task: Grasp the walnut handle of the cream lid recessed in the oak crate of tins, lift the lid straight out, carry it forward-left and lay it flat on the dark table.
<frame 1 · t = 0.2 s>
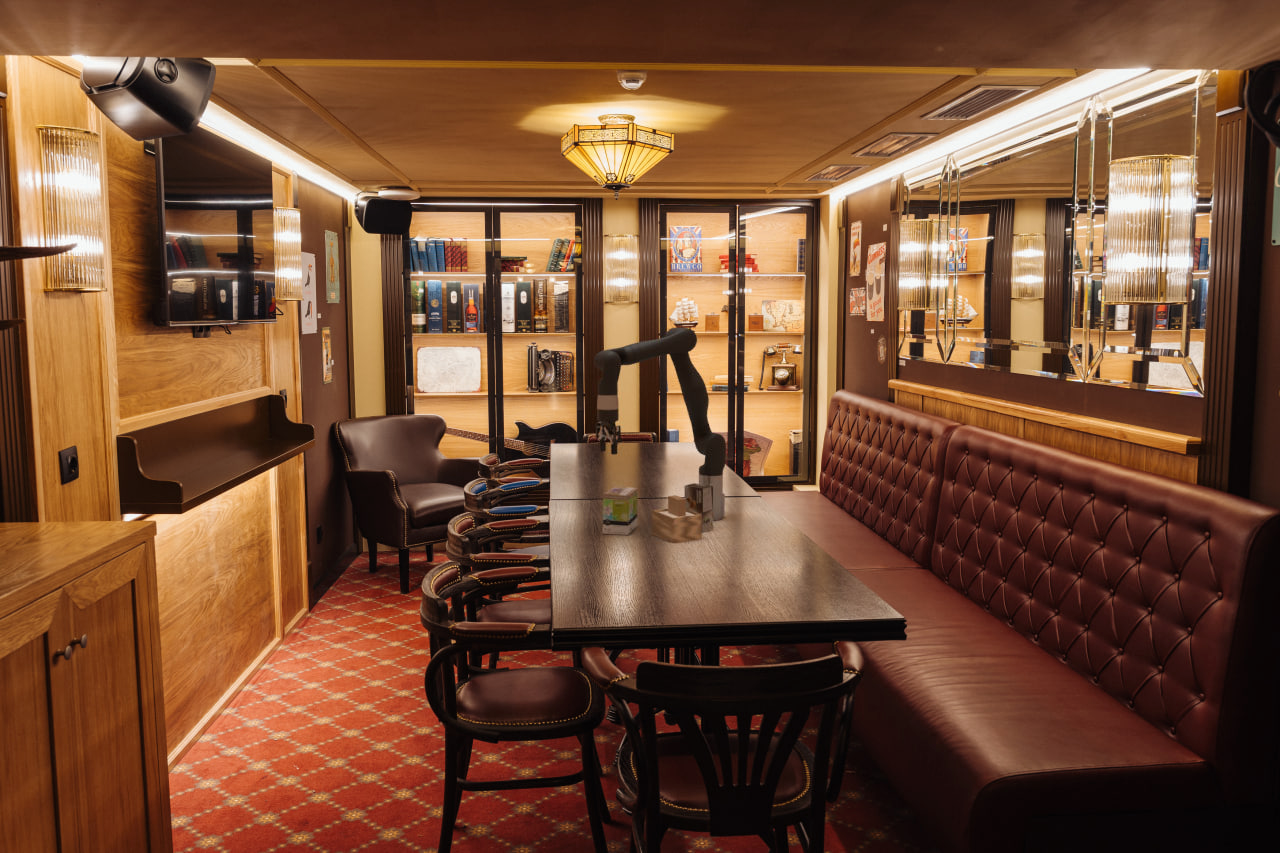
hand: (608, 452, 315), 29 cm above the table, fingers open, 8 cm apart
tea box: (620, 530, 322), on the table
coffee box: (698, 529, 324), on the table
lid: (676, 517, 311), point 7 cm above the table, touching crate
crate: (676, 536, 312), on the table
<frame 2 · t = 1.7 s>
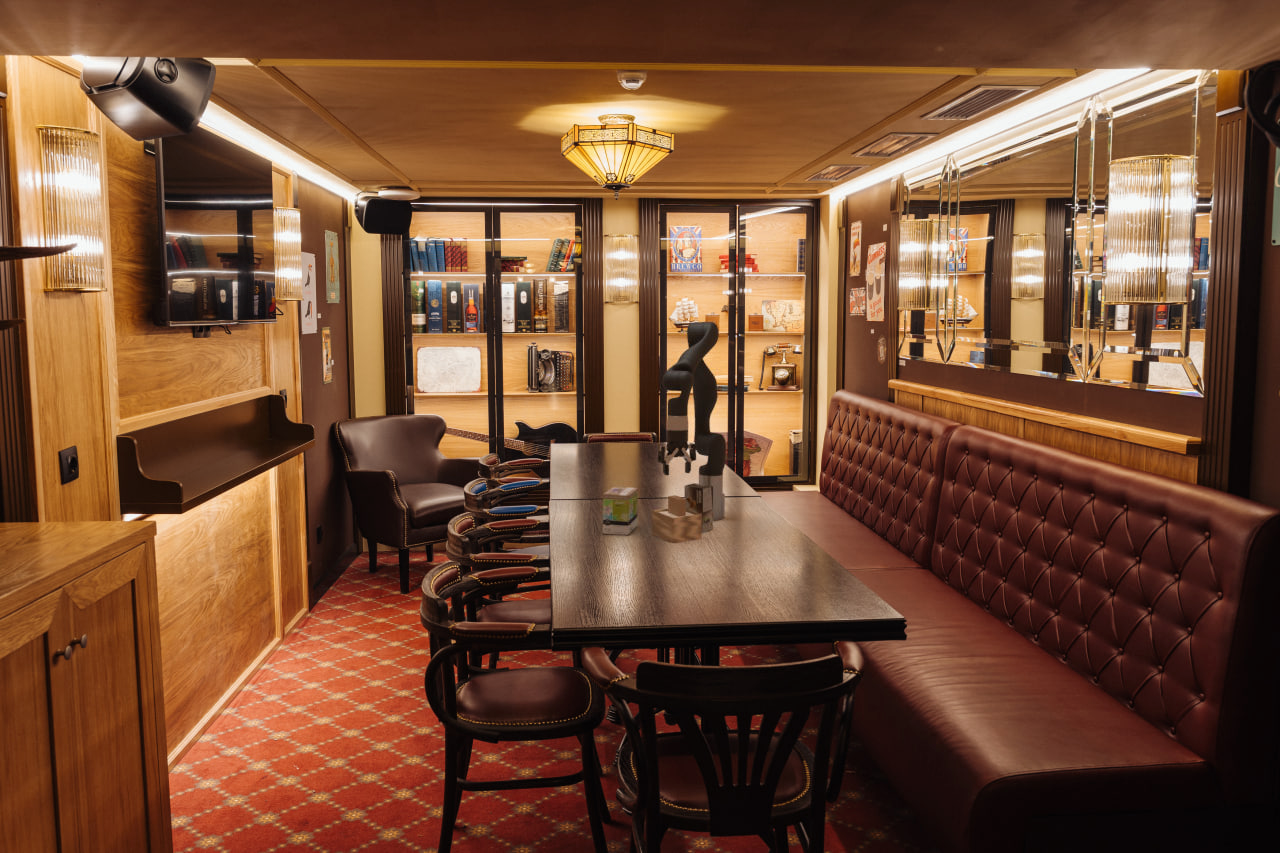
hand: (676, 474, 309), 22 cm above the table, fingers open, 8 cm apart
nothing on the table moved.
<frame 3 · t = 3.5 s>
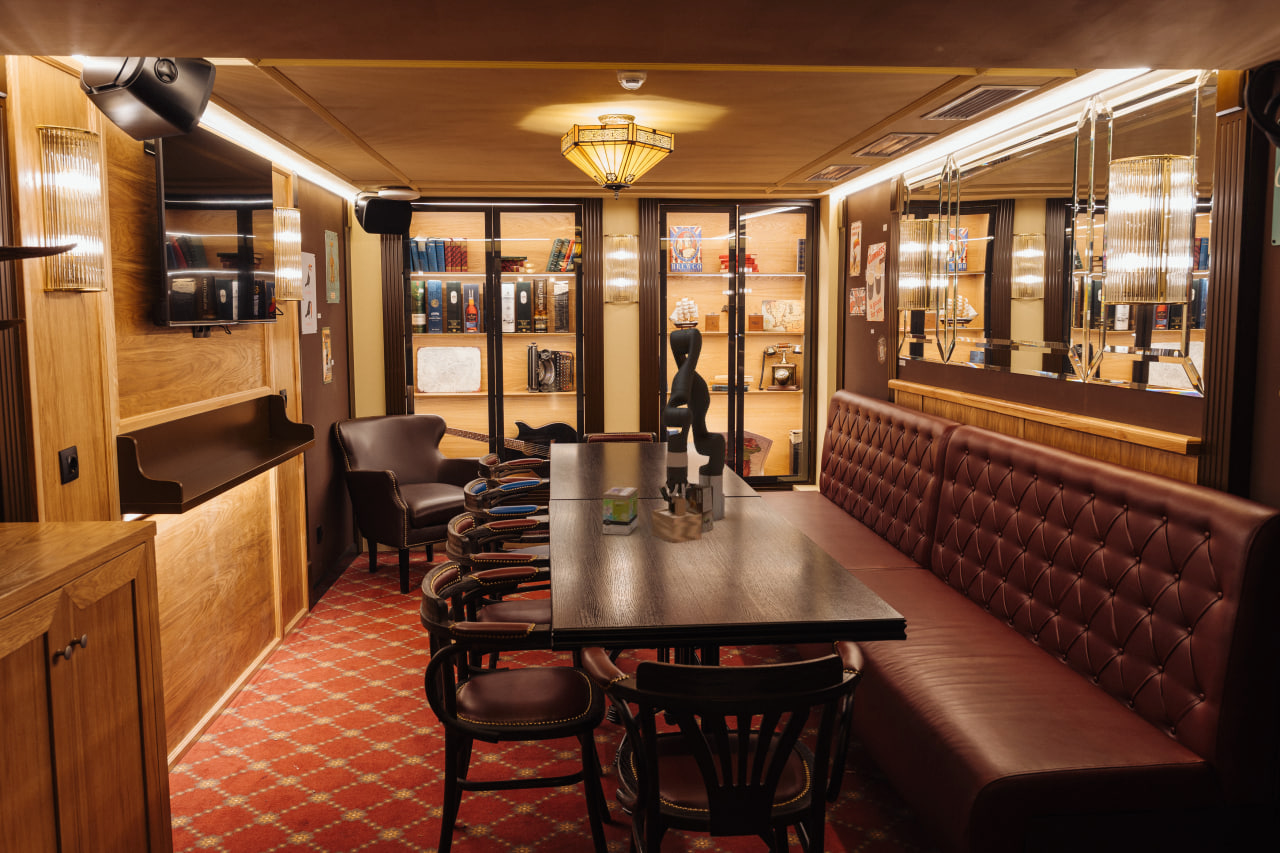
hand: (676, 512, 311), 9 cm above the table, fingers closed on lid, 3 cm apart
lid: (676, 516, 311), point 7 cm above the table, touching crate, gripper
everything else where it was.
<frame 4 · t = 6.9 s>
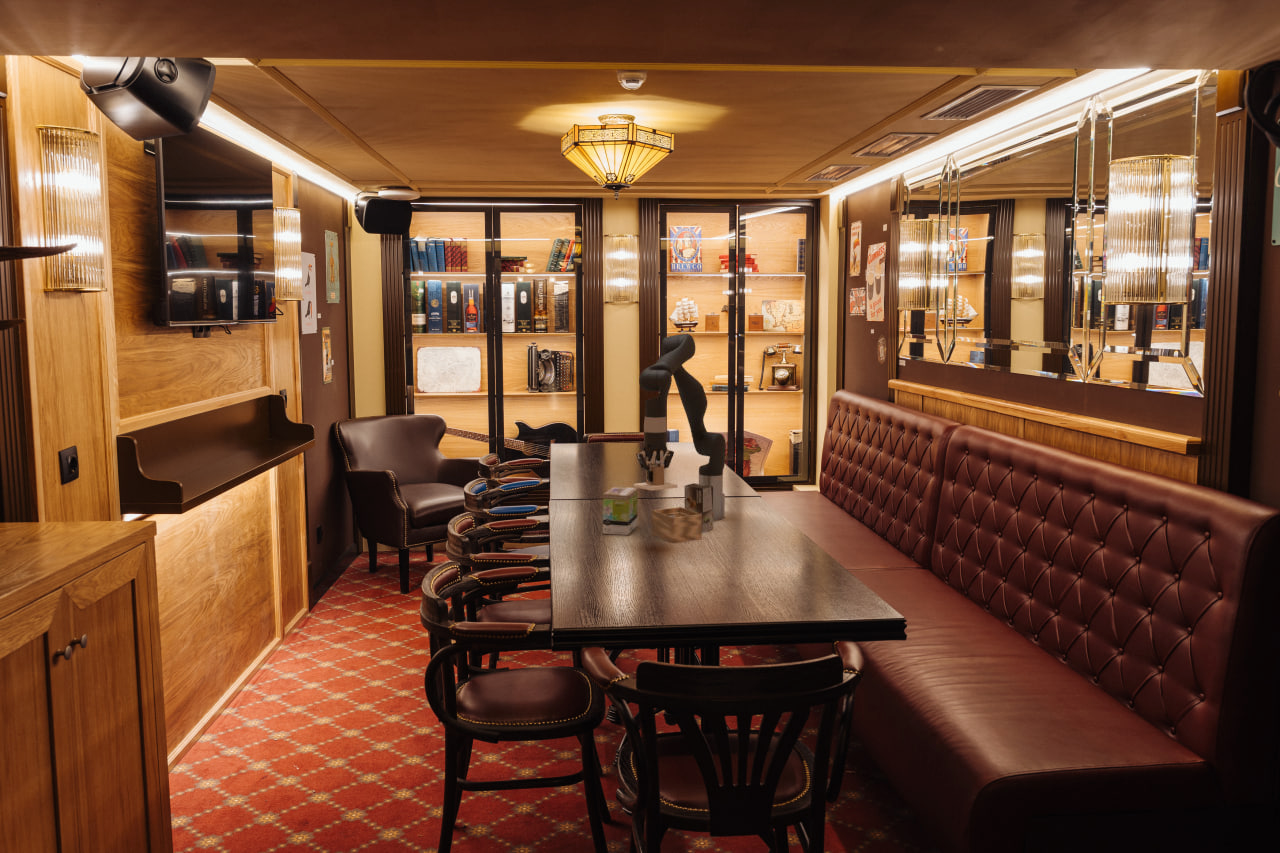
hand: (655, 481, 295), 23 cm above the table, fingers closed on lid, 3 cm apart
lid: (655, 487, 295), point 21 cm above the table, touching gripper
everything else where it was.
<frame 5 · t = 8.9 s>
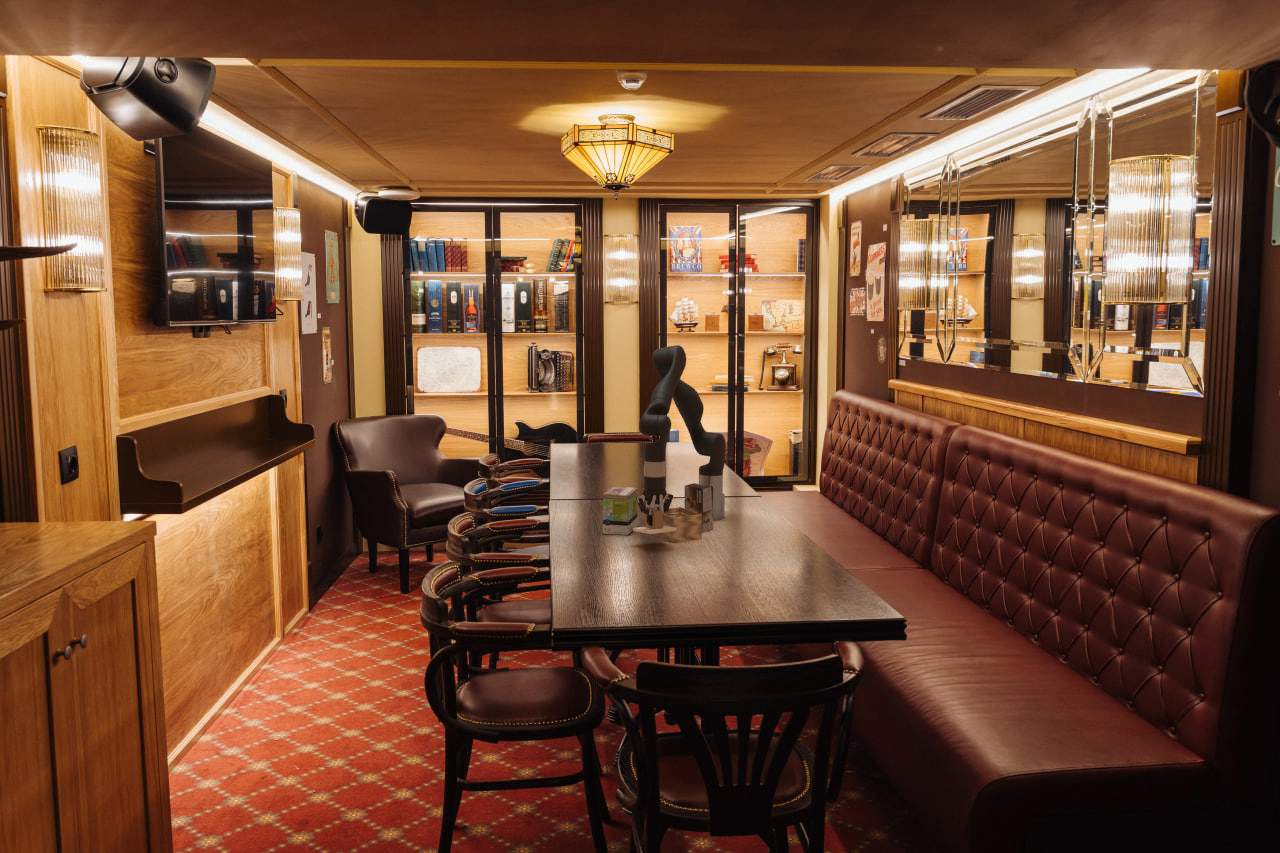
hand: (654, 524, 297), 8 cm above the table, fingers closed on lid, 3 cm apart
lid: (654, 530, 297), point 6 cm above the table, tilted 7°, touching gripper
everything else where it was.
when the fingers open (4 cm above the table, at t = 10.4 s): lid drops 2 cm, on the table.
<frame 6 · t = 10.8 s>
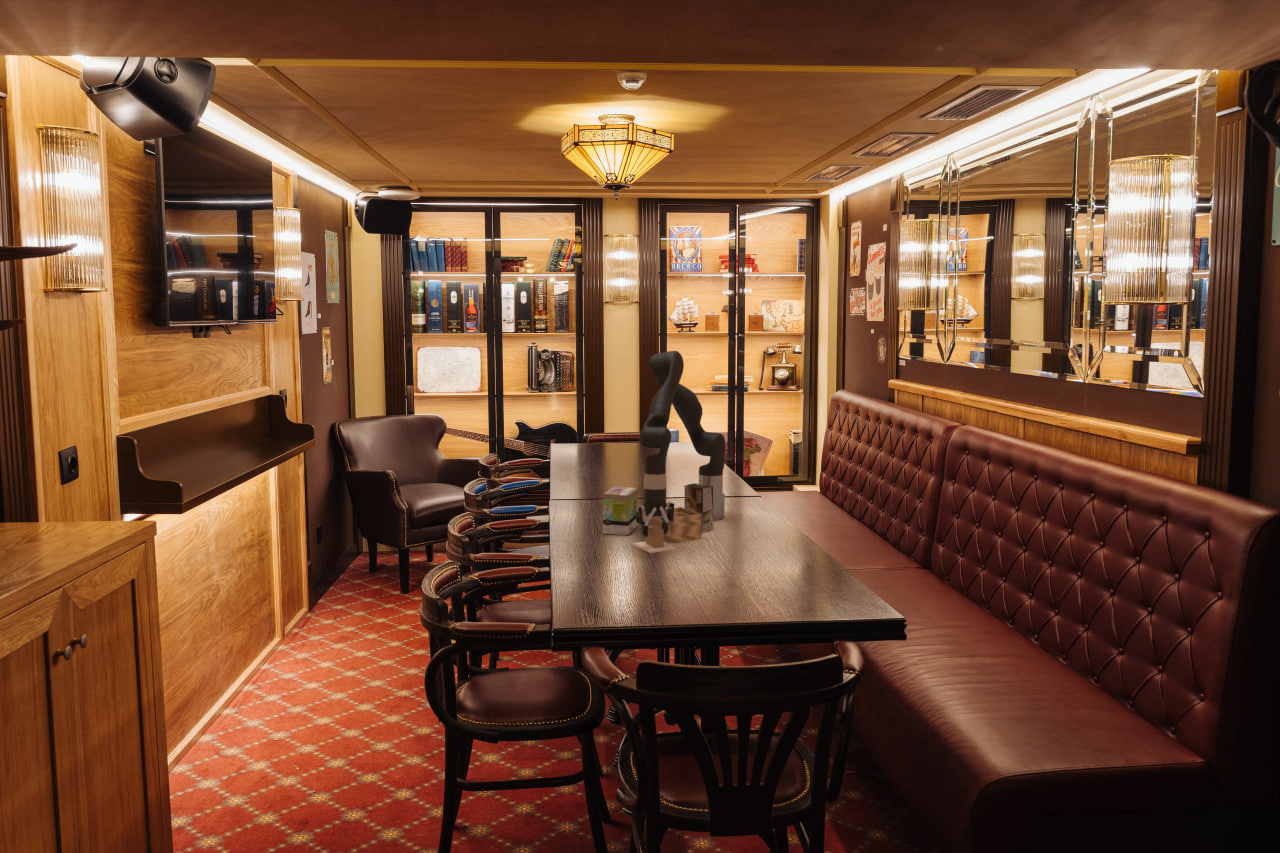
hand: (654, 534, 297), 4 cm above the table, fingers open, 6 cm apart
lid: (654, 548, 298), on the table
everything else where it was.
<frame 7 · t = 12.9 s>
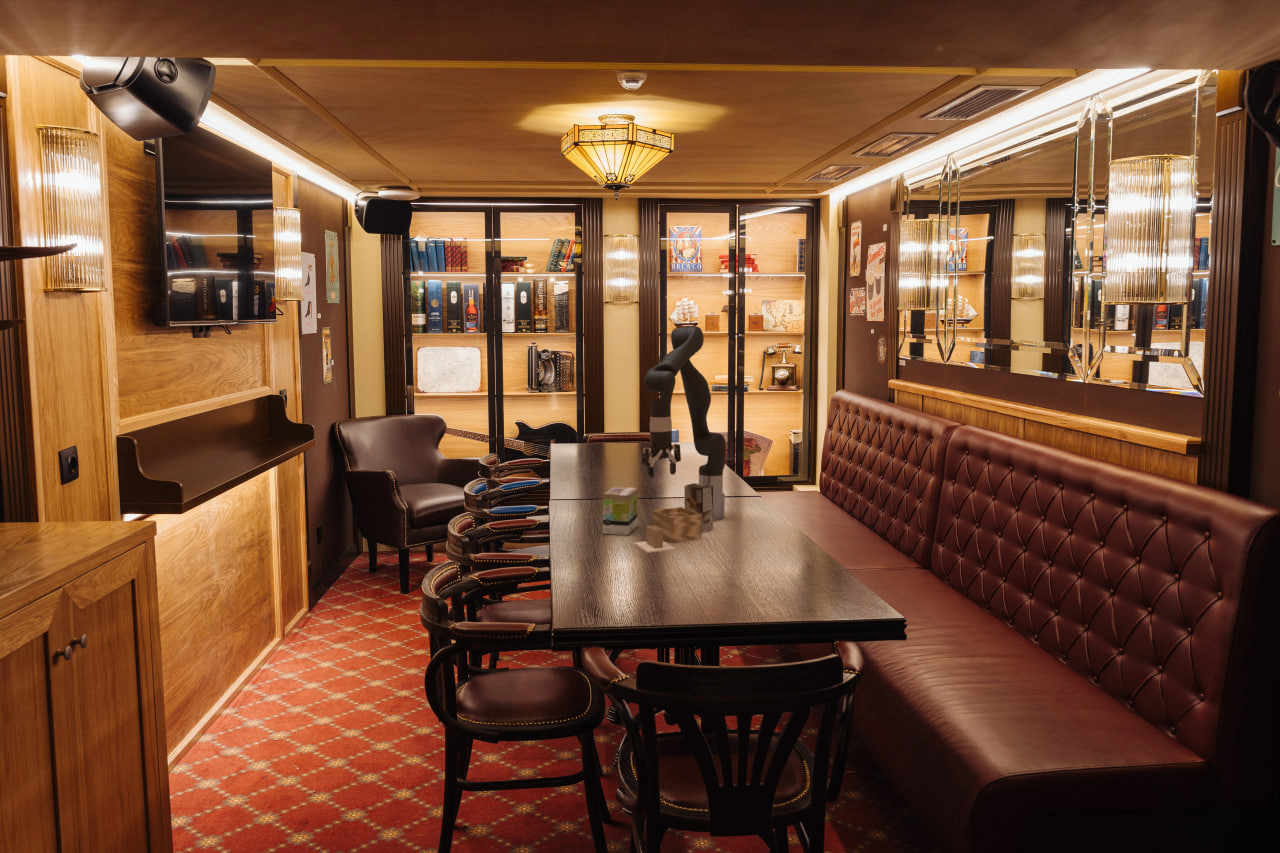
hand: (661, 475, 304), 23 cm above the table, fingers open, 8 cm apart
nothing on the table moved.
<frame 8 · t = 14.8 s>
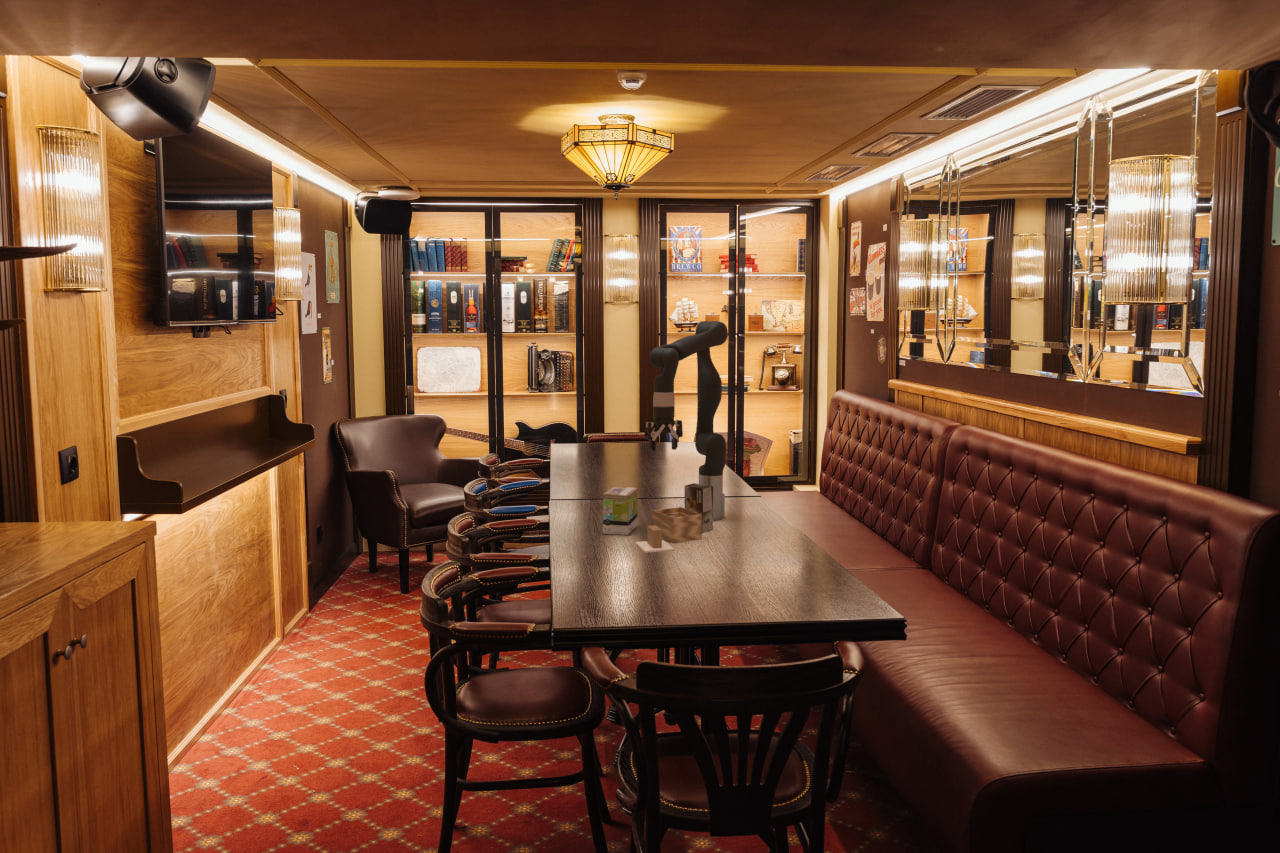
hand: (663, 450, 313), 30 cm above the table, fingers open, 8 cm apart
nothing on the table moved.
at the end: lid inside the target area (0.2 cm from its centre), on the table; lid tilted 0°; lid touching table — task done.
